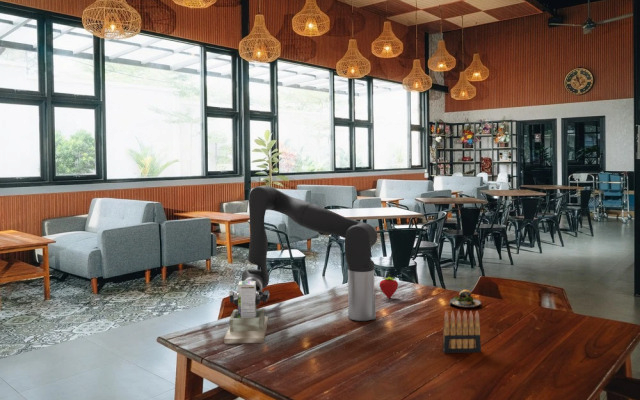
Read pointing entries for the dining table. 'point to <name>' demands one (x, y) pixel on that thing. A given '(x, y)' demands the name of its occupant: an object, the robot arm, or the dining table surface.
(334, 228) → the robot arm
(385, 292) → the strawberry
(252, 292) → the syrup box
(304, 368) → the dining table surface
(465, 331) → the ammunition clip
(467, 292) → the burger
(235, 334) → the stand
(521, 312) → the dining table surface
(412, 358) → the dining table surface
